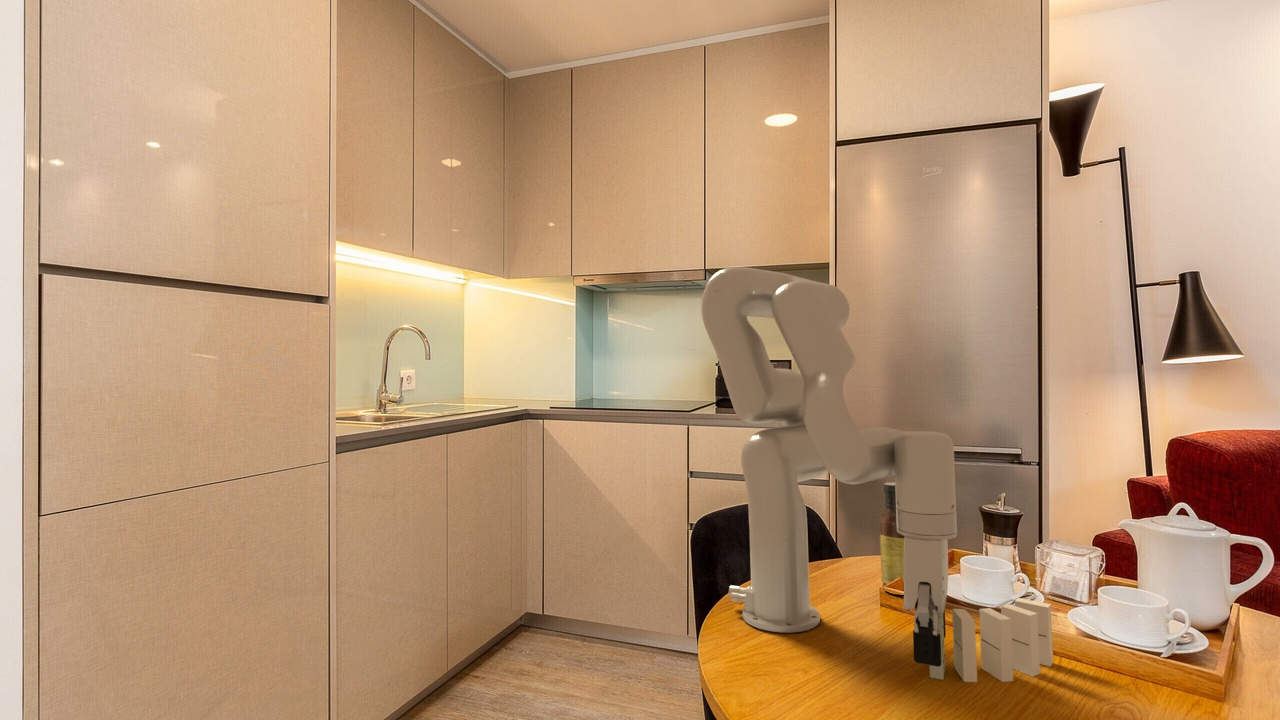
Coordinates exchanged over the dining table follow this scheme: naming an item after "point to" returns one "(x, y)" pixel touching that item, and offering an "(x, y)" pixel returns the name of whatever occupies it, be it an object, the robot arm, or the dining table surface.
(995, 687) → the dining table surface
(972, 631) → the domino
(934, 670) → the sage domino
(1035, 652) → the domino
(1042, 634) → the domino
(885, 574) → the sauce bottle
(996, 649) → the domino
